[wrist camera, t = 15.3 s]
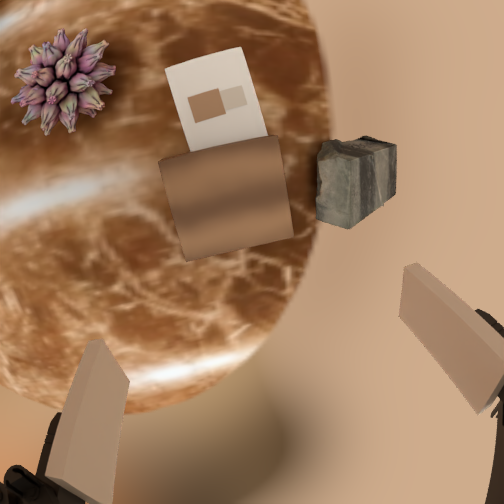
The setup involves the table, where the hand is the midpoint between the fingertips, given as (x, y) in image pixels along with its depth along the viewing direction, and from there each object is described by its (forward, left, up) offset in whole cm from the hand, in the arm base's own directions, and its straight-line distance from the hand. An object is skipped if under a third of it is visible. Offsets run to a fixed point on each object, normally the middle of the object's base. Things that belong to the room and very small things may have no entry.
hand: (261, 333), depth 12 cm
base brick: (0, 0, -25) cm, 25 cm away
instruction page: (-11, +1, -25) cm, 28 cm away
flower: (-18, -14, -26) cm, 34 cm away
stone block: (0, +10, -22) cm, 23 cm away
